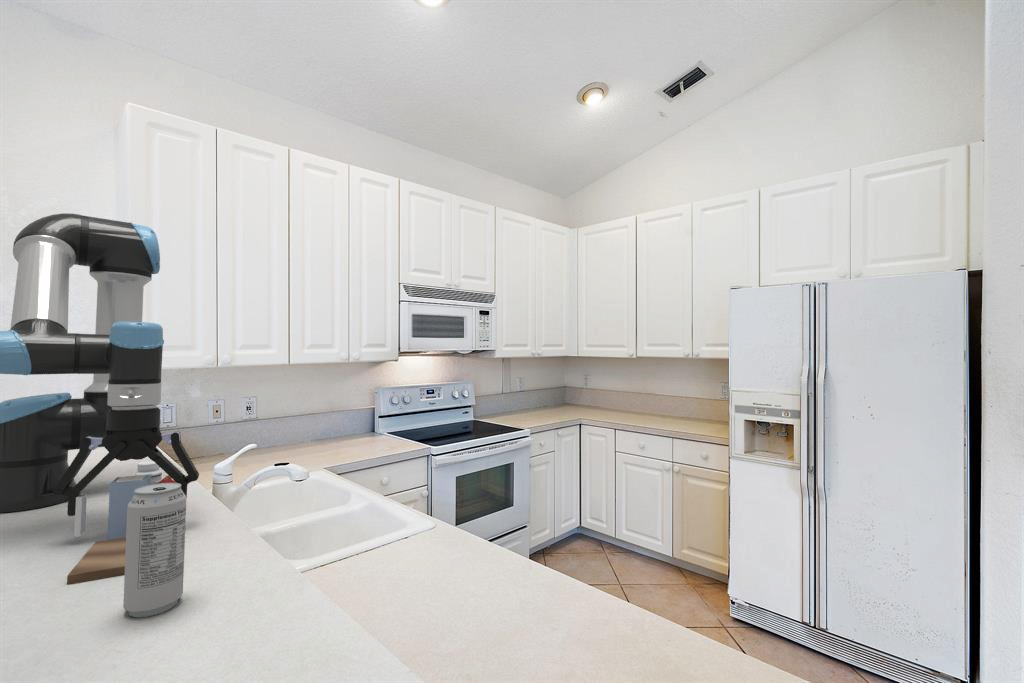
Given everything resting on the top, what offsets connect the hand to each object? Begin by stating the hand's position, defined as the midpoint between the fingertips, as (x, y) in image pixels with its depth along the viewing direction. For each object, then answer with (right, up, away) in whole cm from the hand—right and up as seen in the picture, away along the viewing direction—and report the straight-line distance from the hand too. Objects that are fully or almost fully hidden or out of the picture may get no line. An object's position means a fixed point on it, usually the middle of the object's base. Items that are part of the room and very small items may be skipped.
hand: (129, 527), depth 83 cm
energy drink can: (+23, -1, -24) cm, 33 cm away
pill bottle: (-13, -2, +20) cm, 24 cm away
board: (+8, -1, -9) cm, 12 cm away
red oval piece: (-2, -2, +11) cm, 11 cm away
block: (0, -1, 0) cm, 1 cm away
